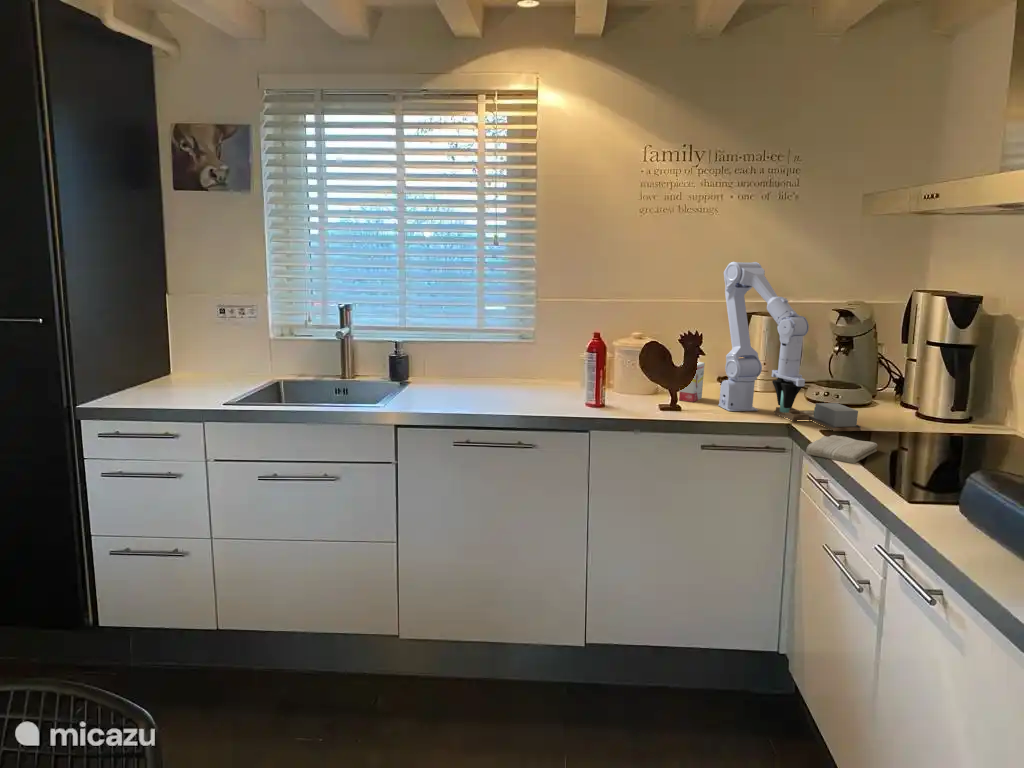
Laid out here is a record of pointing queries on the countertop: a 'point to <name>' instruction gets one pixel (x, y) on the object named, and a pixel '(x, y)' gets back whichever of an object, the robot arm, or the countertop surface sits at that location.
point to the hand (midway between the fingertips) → (784, 406)
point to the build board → (793, 414)
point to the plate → (811, 417)
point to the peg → (782, 409)
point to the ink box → (694, 386)
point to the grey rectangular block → (836, 414)
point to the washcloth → (841, 448)
